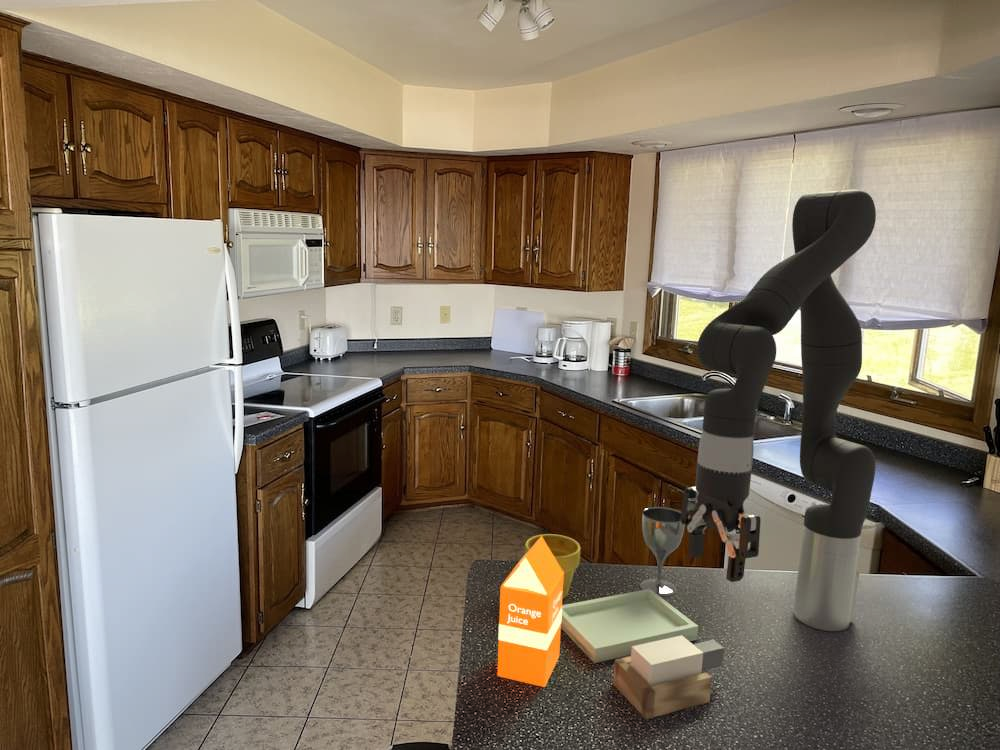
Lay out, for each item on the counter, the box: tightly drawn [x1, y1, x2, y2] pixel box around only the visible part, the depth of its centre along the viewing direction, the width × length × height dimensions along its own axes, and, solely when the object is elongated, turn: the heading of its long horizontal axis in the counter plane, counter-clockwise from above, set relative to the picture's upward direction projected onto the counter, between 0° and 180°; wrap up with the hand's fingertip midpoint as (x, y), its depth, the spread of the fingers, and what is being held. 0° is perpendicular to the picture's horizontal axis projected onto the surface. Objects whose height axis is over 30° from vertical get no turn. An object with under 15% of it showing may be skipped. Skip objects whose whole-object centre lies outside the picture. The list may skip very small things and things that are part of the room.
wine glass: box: [639, 506, 686, 597], centre depth 136 cm, size 8×8×15 cm
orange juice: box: [496, 536, 564, 688], centre depth 108 cm, size 8×9×20 cm
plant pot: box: [524, 533, 582, 600], centre depth 133 cm, size 10×10×10 cm
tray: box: [561, 589, 699, 664], centre depth 121 cm, size 20×14×2 cm
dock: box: [612, 655, 713, 720], centre depth 104 cm, size 11×9×4 cm
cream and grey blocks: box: [630, 635, 725, 686], centre depth 105 cm, size 14×5×7 cm, turn 113°
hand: (713, 567), depth 105 cm, fingers open, 8 cm apart
